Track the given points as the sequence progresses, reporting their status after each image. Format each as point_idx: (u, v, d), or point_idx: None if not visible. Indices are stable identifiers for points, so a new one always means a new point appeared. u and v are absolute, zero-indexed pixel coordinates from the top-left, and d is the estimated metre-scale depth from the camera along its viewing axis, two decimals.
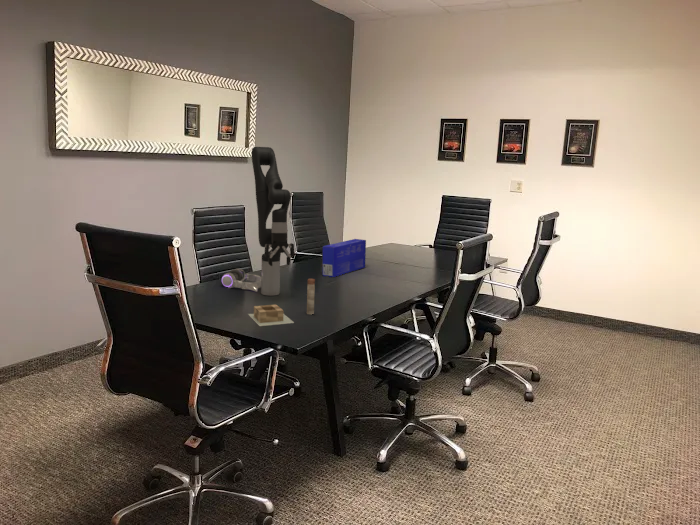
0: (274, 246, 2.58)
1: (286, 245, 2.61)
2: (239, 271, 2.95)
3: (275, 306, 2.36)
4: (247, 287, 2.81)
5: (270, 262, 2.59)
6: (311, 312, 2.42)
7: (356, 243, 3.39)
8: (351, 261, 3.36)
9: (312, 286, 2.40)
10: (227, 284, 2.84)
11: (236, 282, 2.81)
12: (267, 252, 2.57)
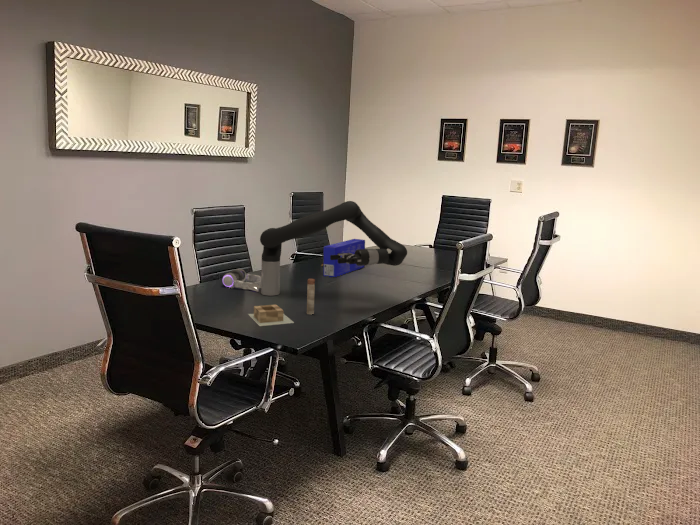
0: None
1: None
2: (240, 271, 2.95)
3: (275, 306, 2.36)
4: (248, 287, 2.81)
5: None
6: (311, 312, 2.42)
7: (356, 243, 3.39)
8: None
9: (312, 286, 2.40)
10: (228, 284, 2.84)
11: (237, 282, 2.81)
12: None
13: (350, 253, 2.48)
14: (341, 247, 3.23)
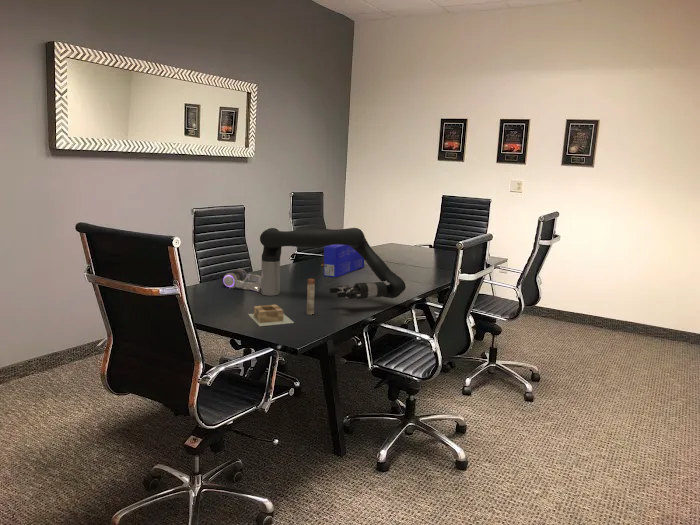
0: None
1: None
2: (241, 271, 2.95)
3: (275, 306, 2.36)
4: (249, 287, 2.81)
5: (341, 296, 2.44)
6: (311, 312, 2.42)
7: None
8: (351, 261, 3.36)
9: (312, 286, 2.40)
10: (229, 284, 2.84)
11: (238, 282, 2.81)
12: None
13: (349, 286, 2.51)
14: (341, 247, 3.23)
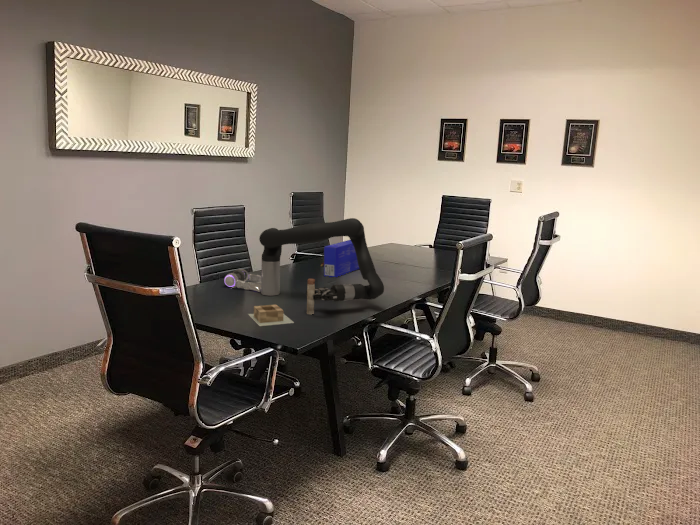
0: None
1: None
2: (242, 271, 2.95)
3: (275, 306, 2.36)
4: (250, 287, 2.81)
5: (317, 298, 2.39)
6: (311, 312, 2.42)
7: None
8: (351, 261, 3.36)
9: (312, 286, 2.40)
10: (230, 284, 2.84)
11: (239, 282, 2.81)
12: None
13: (326, 288, 2.47)
14: (341, 247, 3.23)
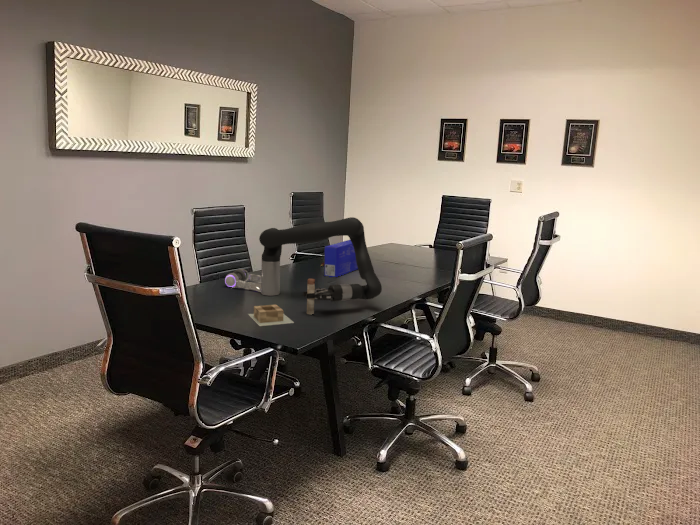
0: None
1: None
2: (242, 271, 2.94)
3: (275, 306, 2.36)
4: (250, 287, 2.80)
5: (310, 297, 2.40)
6: (311, 312, 2.42)
7: None
8: (351, 261, 3.36)
9: (312, 286, 2.40)
10: (230, 284, 2.84)
11: (239, 282, 2.81)
12: None
13: (324, 289, 2.46)
14: (342, 247, 3.23)
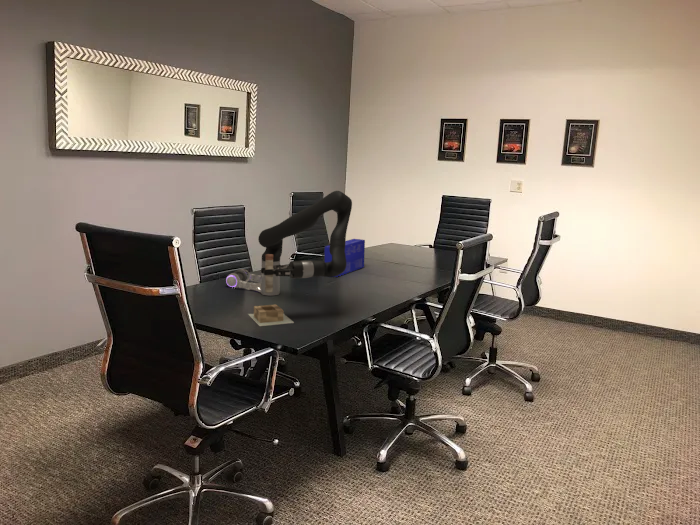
0: None
1: None
2: (244, 271, 2.95)
3: (275, 306, 2.36)
4: (251, 287, 2.81)
5: (268, 274, 2.27)
6: (270, 289, 2.30)
7: (356, 243, 3.39)
8: (351, 261, 3.36)
9: (270, 262, 2.28)
10: (231, 284, 2.84)
11: (240, 282, 2.81)
12: None
13: (283, 265, 2.33)
14: None
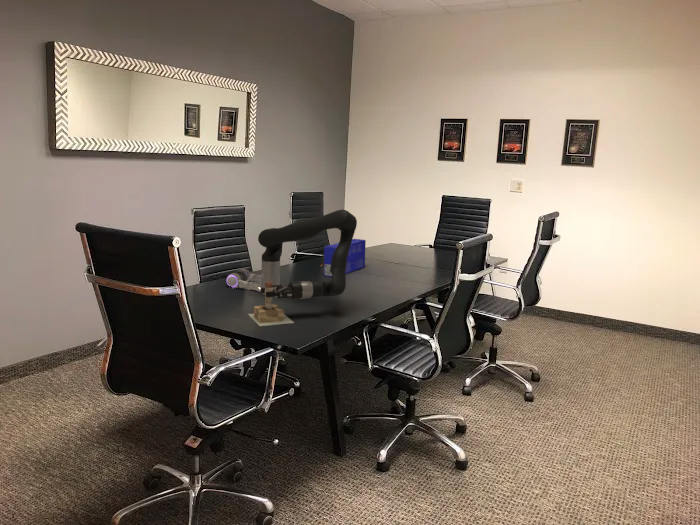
0: None
1: None
2: (244, 271, 2.95)
3: (275, 306, 2.36)
4: (252, 287, 2.81)
5: (270, 296, 2.28)
6: None
7: (356, 243, 3.39)
8: (351, 261, 3.36)
9: (269, 289, 2.29)
10: (232, 284, 2.84)
11: (241, 282, 2.81)
12: None
13: (283, 286, 2.35)
14: None
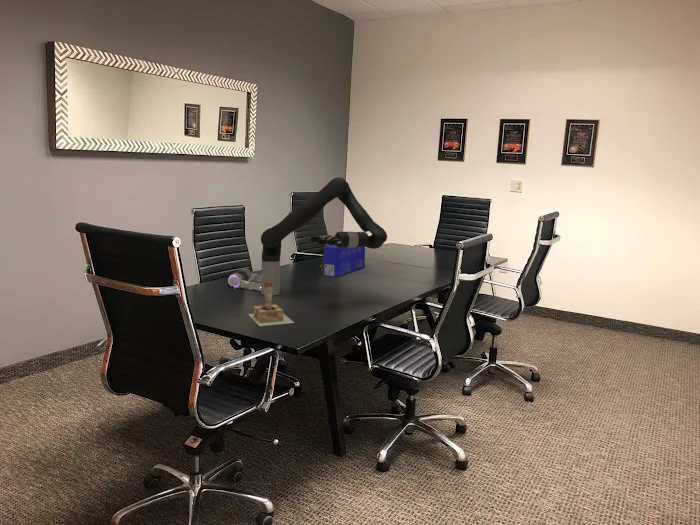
0: None
1: None
2: (246, 271, 2.95)
3: (275, 306, 2.36)
4: (254, 287, 2.81)
5: (321, 243, 2.44)
6: None
7: None
8: (351, 261, 3.36)
9: (269, 289, 2.30)
10: (234, 284, 2.84)
11: (243, 282, 2.82)
12: None
13: (330, 235, 2.51)
14: None
